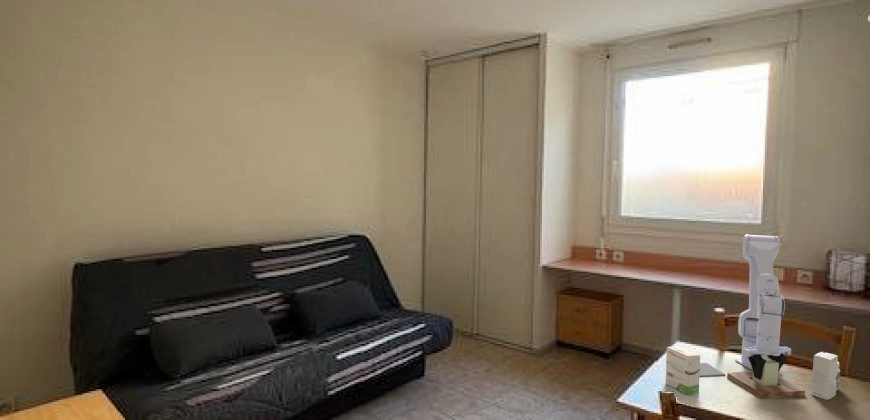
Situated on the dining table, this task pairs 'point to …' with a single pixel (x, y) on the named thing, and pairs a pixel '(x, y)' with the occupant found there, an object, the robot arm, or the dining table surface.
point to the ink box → (683, 369)
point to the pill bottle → (838, 377)
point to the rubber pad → (709, 370)
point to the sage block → (768, 373)
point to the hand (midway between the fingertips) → (764, 377)
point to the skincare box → (824, 375)
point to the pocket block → (761, 391)
